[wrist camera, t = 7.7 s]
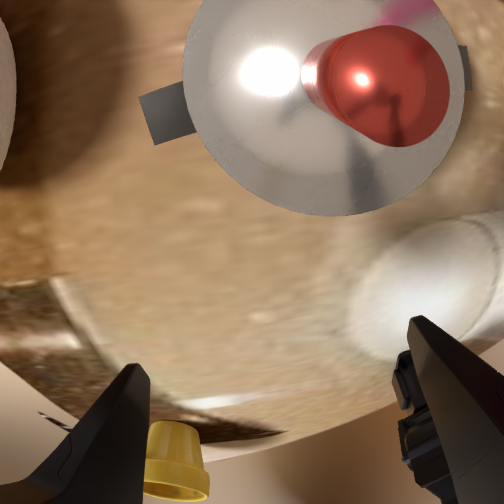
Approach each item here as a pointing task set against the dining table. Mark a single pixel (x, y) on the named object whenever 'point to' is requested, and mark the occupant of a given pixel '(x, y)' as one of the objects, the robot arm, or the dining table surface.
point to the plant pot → (175, 463)
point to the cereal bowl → (6, 91)
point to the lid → (324, 97)
